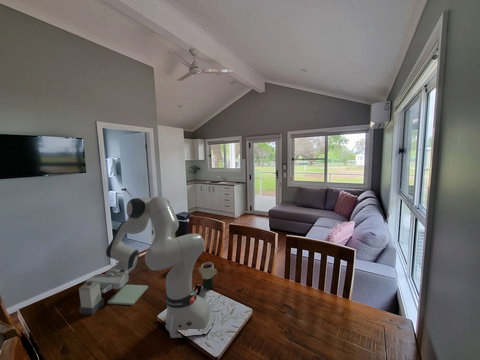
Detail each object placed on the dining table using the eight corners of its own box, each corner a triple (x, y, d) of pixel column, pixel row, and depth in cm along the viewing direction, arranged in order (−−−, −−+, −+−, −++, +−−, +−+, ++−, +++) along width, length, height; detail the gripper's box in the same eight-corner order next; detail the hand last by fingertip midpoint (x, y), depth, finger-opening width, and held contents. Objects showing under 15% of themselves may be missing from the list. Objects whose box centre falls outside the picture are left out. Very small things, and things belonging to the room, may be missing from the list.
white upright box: (101, 299, 102) (99, 279, 101) (92, 307, 96) (89, 286, 95) (91, 298, 103) (88, 278, 102) (81, 307, 97) (78, 286, 96)
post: (104, 304, 103) (102, 287, 102) (92, 314, 96) (90, 297, 95) (91, 303, 104) (89, 287, 103) (79, 313, 97) (77, 296, 96)
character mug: (219, 284, 117) (218, 263, 115) (215, 292, 110) (214, 269, 108) (202, 281, 119) (201, 261, 118) (196, 289, 112) (195, 267, 111)
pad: (148, 287, 116) (148, 285, 115) (132, 305, 102) (132, 303, 102) (125, 286, 117) (125, 284, 117) (107, 303, 103) (107, 301, 103)
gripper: (97, 269, 116) (75, 284, 102) (130, 270, 113) (111, 286, 100) (98, 279, 116) (76, 296, 103) (131, 281, 114) (113, 298, 100)
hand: (94, 291), depth 101 cm, fingers open, 8 cm apart
